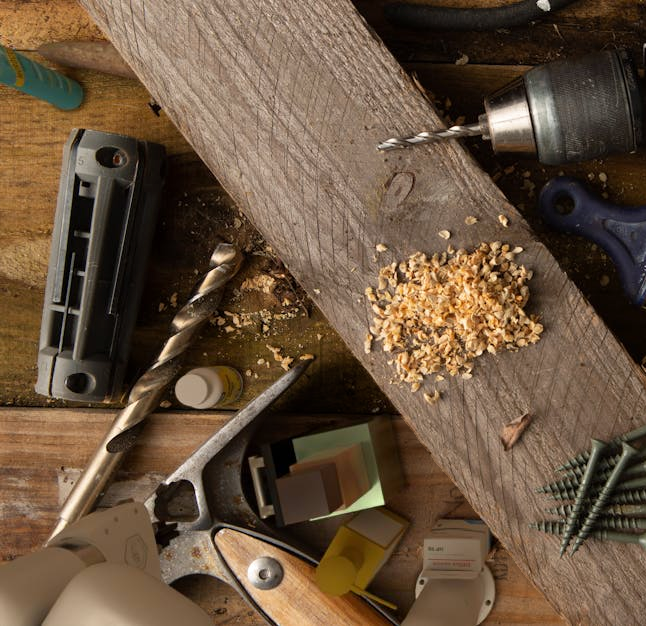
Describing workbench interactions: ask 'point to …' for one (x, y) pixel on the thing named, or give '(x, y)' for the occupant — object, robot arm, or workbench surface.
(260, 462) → the oven door
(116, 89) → the workbench surface
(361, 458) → the riser
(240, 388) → the pill bottle
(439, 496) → the workbench surface
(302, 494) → the block
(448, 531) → the ink box
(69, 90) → the tube
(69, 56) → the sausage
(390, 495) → the oven
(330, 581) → the soap bottle
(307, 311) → the workbench surface
